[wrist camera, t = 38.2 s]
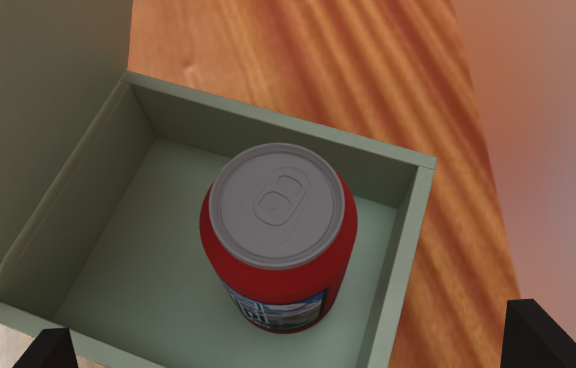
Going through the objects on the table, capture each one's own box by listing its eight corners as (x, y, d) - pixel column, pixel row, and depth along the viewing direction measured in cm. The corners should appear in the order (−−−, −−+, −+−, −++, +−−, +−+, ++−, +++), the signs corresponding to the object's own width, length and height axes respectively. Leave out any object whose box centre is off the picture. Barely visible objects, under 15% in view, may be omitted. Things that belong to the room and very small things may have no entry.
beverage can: (209, 297, 28) (154, 226, 17) (269, 212, 31) (253, 103, 20) (302, 360, 26) (305, 323, 16) (358, 263, 29) (393, 175, 18)
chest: (410, 206, 32) (438, 156, 25) (347, 456, 25) (363, 471, 19) (155, 129, 35) (124, 69, 29) (39, 332, 28) (-33, 310, 22)
